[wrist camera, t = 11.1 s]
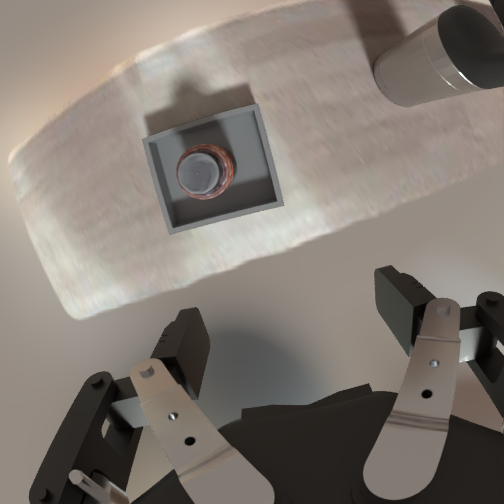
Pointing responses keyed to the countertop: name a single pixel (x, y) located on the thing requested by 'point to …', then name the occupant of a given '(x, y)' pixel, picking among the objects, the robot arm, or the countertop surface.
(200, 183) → the supplement bottle
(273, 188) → the bin
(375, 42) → the countertop surface
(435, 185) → the countertop surface
